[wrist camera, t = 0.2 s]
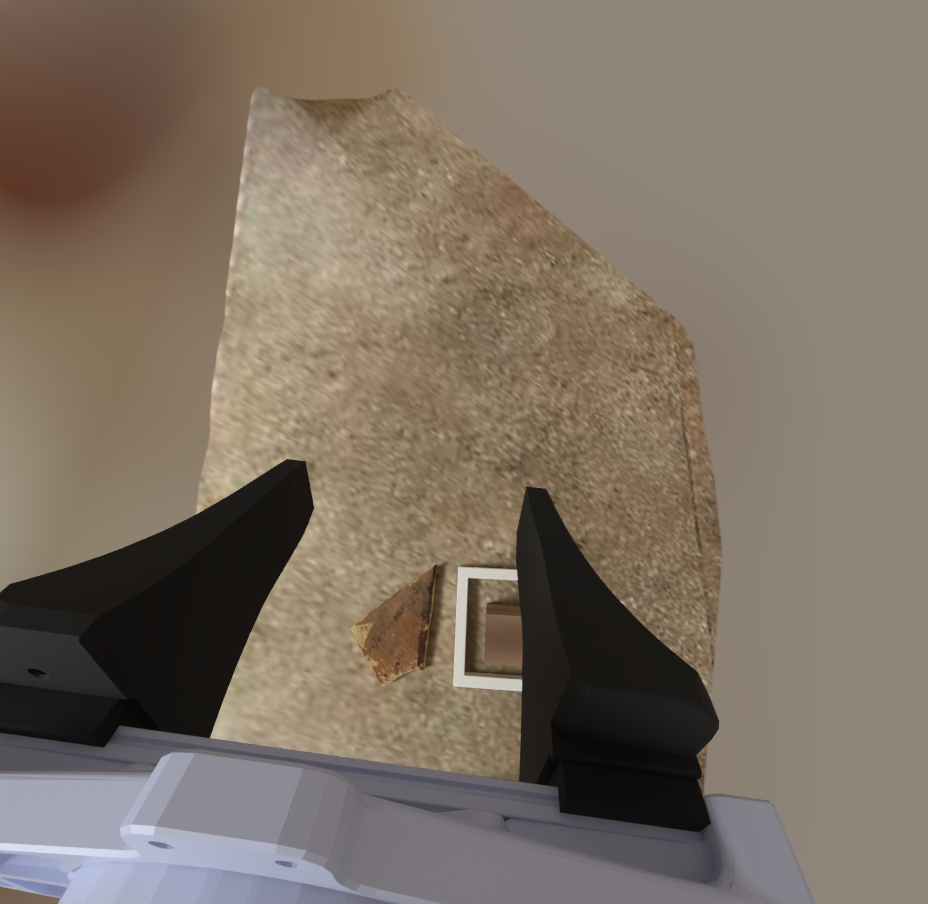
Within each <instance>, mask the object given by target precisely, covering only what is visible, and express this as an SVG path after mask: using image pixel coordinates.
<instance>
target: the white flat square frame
mask: <svg viewBox="0 0 928 904" xmlns="http://www.w3.org/2000/svg"><path fill="white" fill-rule="evenodd" d="M468 578H479V579H499V580H518V577H517V569H504V568H483V567H463V566H459V567H458V587H457V610H456V633H455V656H454V679H453V686H457V687H471V688H485V689H498V690H512V691H522V676H521V675H507V674H493V673H478V672H465V656H466V630H467V604H468Z"/></svg>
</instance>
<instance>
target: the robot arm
mask: <svg viewBox="0 0 928 904" xmlns="http://www.w3.org/2000/svg"><path fill="white" fill-rule="evenodd" d="M313 510H314V505H313V499H312V494H311V489H310V483H309V478H308V472H307V467H306V462H305V461H298V460H289V459H287V460H285V461H283V462H282V463H280V464H278V465H277V466H275V467H274V468H272V469H270V470H269V471H267V472H266V473H264V474H263V475H261V476H260V477H258V478H256V479H255V480H253V481H252V482H250V483H249V484H247V485H245V486H244V487H242V488H241V489H239V490H238V491H236V492H234V493H233V494H231V495H229V496H228V497H226V498H224V499H223V500H221V501H219V502H217V503H216V504H214V505H212V506H210V507H209V508H207V509H205V510H204V511H202V512H200V513H198V514H196V515H194V516H193V517H191V518H189V519H187V520H185V521H183V522H181V523H179V524H177V525H175V526H173V527H170V528H168V529H166V530H164V531H162V532H160V533H158V534H155V535H153V536H151V537H148V538H146V539H143V540H141V541H138V542H136V543H134V544H131V545H129V546H126V547H124V548H122V549H119V550H117V551H114V552H111V553H108V554H106V555H103V556H100V557H97V558H94V559H91V560H88V561H85V562H83V563H80V564H77V565H73V566H71V567H67V568H64V569H61V570H57V571H54V572H51V573H47V574H44V575H40V576H37V577H34V578H30V579H27V580H23V581H20V582H16V583H12V584H10V585H8V586H7V587H6V588H5V589H4V590H2V591H1V592H0V886H1V887H6V888H11V889H16V890H21V891H26V892H32V893H36V894H42V895H47V896H52V897H57V898H61V900H60V901H59V903H58V904H816V903H815V901H814V899H813V896H812V894H811V892H810V889H809V887H808V884H807V882H806V880H805V877H804V875H803V872H802V870H801V868H800V865H799V863H798V861H797V858H796V856H795V853H794V851H793V849H792V846H791V844H790V841H789V839H788V837H787V834H786V832H785V830H784V827H783V825H782V822H781V820H780V818H779V815H778V813H777V810H776V808H775V806H774V804H772V803H771V802H770V801H767V800H761V799H753V798H746V797H738V796H732V795H724V794H710V795H705V796H702V793H701V790H700V787H699V783H698V780H697V779H700V778H701V777H702V772H701V769H700V765H699V762H698V759H697V756H696V755H697V754H698V753H699V752H700V751H701V750H702V749H703V748H704V747H705V746H706V745H707V744H708V743H709V742H710V740H711V739H712V738H713V736H714V735H715V734H716V732H717V730H718V729H719V720H718V717H717V715H716V712H715V709H714V707H713V704H712V701H711V699H710V697H709V694H708V692H707V690H706V688H705V686H704V684H703V682H702V680H701V678H700V676H699V674H698V672H697V671H696V670H694V669H693V668H692V667H691V666H690V665H688V664H687V663H686V662H685V661H683V660H682V659H681V658H680V657H679V656H677V655H676V654H675V653H674V652H672V651H671V650H670V649H669V648H668V647H666V646H665V645H664V644H663V643H662V642H661V641H660V640H658V639H657V638H656V637H655V636H654V635H653V634H652V633H651V632H650V631H649V630H648V629H647V628H645V627H644V626H643V625H642V624H641V623H640V622H639V621H638V620H637V619H636V618H635V617H634V616H633V615H632V614H631V613H630V611H629V610H628V609H627V608H626V607H625V606H624V605H623V604H622V603H621V602H620V601H619V600H618V599H617V598H616V597H615V595H614V594H613V593H612V592H611V591H610V590H609V588H608V587H607V586H606V585H605V584H604V582H603V581H602V580H601V579H600V577H599V576H598V575H597V574H596V572H595V571H594V570H593V568H592V567H591V565H590V564H589V563H588V561H587V560H586V558H585V557H584V555H583V554H582V552H581V551H580V549H579V548H578V546H577V545H576V543H575V542H574V540H573V538H572V537H571V535H570V533H569V532H568V530H567V528H566V527H565V525H564V523H563V521H562V519H561V518H560V516H559V514H558V512H557V510H556V508H555V506H554V504H553V502H552V500H551V497H550V495H549V493H548V491H547V490H546V489H542V488H534V487H526V491H525V496H524V500H523V505H522V510H521V515H520V520H519V525H518V530H517V546H516V565H517V577H518V588H519V599H520V610H521V621H522V638H523V642H522V714H521V749H520V777H519V782H517V781H510V780H503V779H496V778H489V777H482V776H474V775H467V774H460V773H453V772H446V771H439V770H432V769H425V768H417V767H410V766H403V765H396V764H389V763H382V762H375V761H368V760H361V759H353V758H346V757H339V756H332V755H325V754H318V753H311V752H304V751H296V750H289V749H282V748H275V747H268V746H261V745H254V744H247V743H239V742H232V741H225V740H218V739H211V738H210V736H211V733H212V730H213V727H214V725H215V722H216V719H217V716H218V713H219V710H220V708H221V705H222V702H223V699H224V697H225V694H226V691H227V689H228V686H229V684H230V681H231V679H232V676H233V673H234V671H235V668H236V666H237V663H238V661H239V659H240V656H241V654H242V651H243V649H244V647H245V644H246V642H247V640H248V637H249V635H250V633H251V630H252V628H253V626H254V624H255V622H256V619H257V617H258V615H259V613H260V611H261V608H262V606H263V604H264V602H265V601H266V599H267V597H268V595H269V593H270V591H271V590H272V588H273V586H274V584H275V583H276V581H277V579H278V578H279V576H280V574H281V573H282V571H283V569H284V567H285V566H286V564H287V562H288V561H289V559H290V557H291V556H292V554H293V552H294V550H295V549H296V547H297V545H298V543H299V542H300V540H301V538H302V536H303V534H304V532H305V530H306V527H307V525H308V523H309V520H310V517H311V515H312V512H313Z"/></svg>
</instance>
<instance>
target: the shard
mask: <svg viewBox="0 0 928 904" xmlns="http://www.w3.org/2000/svg"><path fill="white" fill-rule="evenodd" d="M436 575H437V564H436V565H435V566H433V567H432V568H430V569H429V570H428V571H426V572H425V573H423V574H422V575H421V576H420V577H419V578H418V579H417V580H415V581H413V582H412V583H411V584H409V585H408V586H406V587H405V588H403V589H401V590H399V591H398V592H396V593H395V594H393V595H392V596H391V597H390V598H388V599H386V600H384V601H383V602H382V603H380V604H379V605H378V606H377V607H375V608H374V609H373V610H371V611H370V612H369V613H367V614H366V615H365V617H364V618H363V619H362V620H360V621H359V622H357V623H356V624H354V625H353V627H352V631H353V634H354V636H355V638H356V640H357V643H358V645H359V647H360V649H361V650H362V652H363V654H364V656H365V657H366V658H367V660H368V662H369V664H370V666H371V667H372V669H373V671H374V672H375V675H376V678H377V679H378V682H379V683H380V684H381V685H382V686H386V685H388V684H390V683H391V682H392V681H393V680H395V679H397V678H399V677H400V676H402V675H403V674H405V673H409V672H411V671H414V670H424V669H425V666H426V651H427V645H428V638H429V629H430V622H431V617H432V609H433V601H434V593H435V578H436Z"/></svg>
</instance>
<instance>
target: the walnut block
mask: <svg viewBox="0 0 928 904" xmlns="http://www.w3.org/2000/svg"><path fill="white" fill-rule="evenodd" d="M522 642H523V638H522V621H521V610H520V605H508V604H490V603H487V610H486V631H485V664H498V665H512V666H522Z"/></svg>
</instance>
